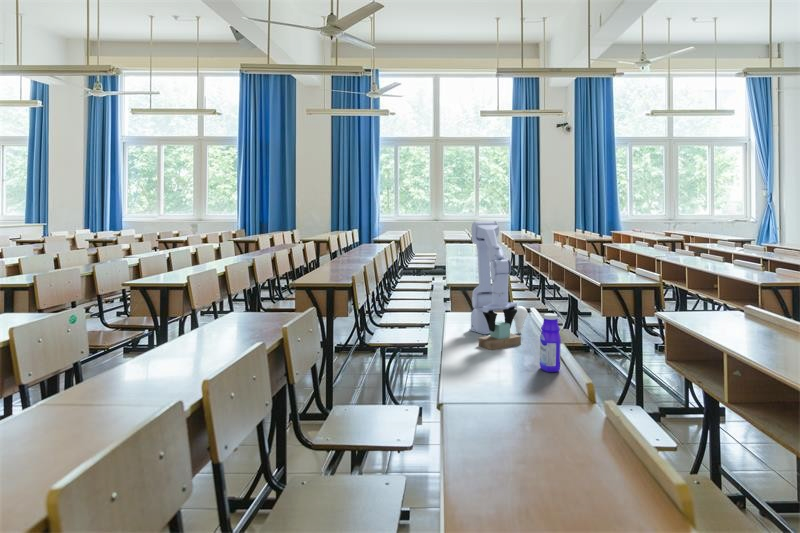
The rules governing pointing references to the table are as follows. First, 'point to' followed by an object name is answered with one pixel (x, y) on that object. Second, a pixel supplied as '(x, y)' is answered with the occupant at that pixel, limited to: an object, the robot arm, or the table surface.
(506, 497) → the table surface
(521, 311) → the lightbulb
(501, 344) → the pencil box
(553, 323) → the bottle
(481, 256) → the robot arm
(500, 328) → the teal cube
